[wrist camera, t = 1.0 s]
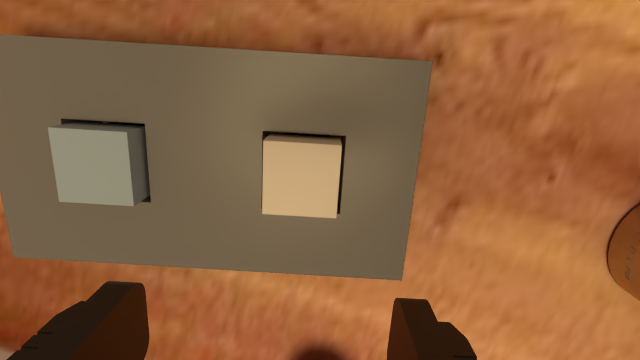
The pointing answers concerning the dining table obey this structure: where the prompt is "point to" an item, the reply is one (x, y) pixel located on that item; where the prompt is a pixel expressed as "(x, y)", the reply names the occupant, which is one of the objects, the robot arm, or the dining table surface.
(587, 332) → the dining table surface
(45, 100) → the key panel
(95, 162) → the gray key
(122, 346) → the robot arm
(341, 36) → the dining table surface
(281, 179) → the tan square block
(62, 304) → the dining table surface
